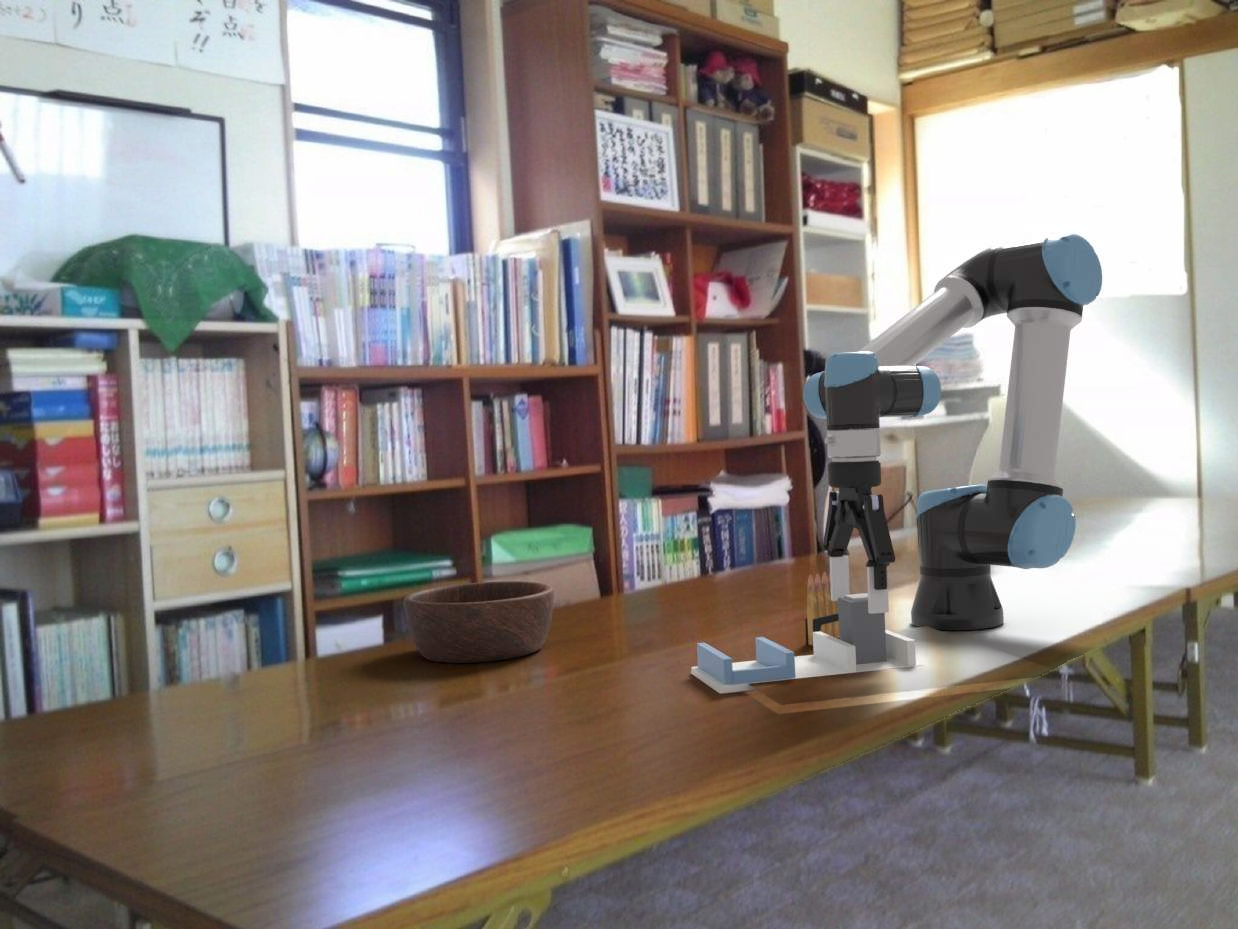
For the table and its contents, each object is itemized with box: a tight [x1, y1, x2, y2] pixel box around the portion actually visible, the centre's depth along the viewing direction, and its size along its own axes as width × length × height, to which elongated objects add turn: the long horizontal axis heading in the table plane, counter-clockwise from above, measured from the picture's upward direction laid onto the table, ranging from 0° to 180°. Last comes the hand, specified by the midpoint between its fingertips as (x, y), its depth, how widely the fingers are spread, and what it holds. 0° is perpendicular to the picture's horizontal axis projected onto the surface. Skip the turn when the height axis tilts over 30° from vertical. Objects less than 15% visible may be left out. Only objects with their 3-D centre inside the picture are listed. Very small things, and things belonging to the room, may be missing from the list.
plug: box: [838, 592, 887, 665], centre depth 181 cm, size 5×5×9 cm
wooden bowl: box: [403, 580, 555, 664], centre depth 209 cm, size 25×25×10 cm
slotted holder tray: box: [690, 628, 923, 694], centre depth 180 cm, size 30×14×4 cm, turn 103°
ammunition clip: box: [804, 571, 852, 646], centre depth 198 cm, size 11×2×12 cm, turn 132°
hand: (858, 606), depth 181 cm, fingers open, 13 cm apart
